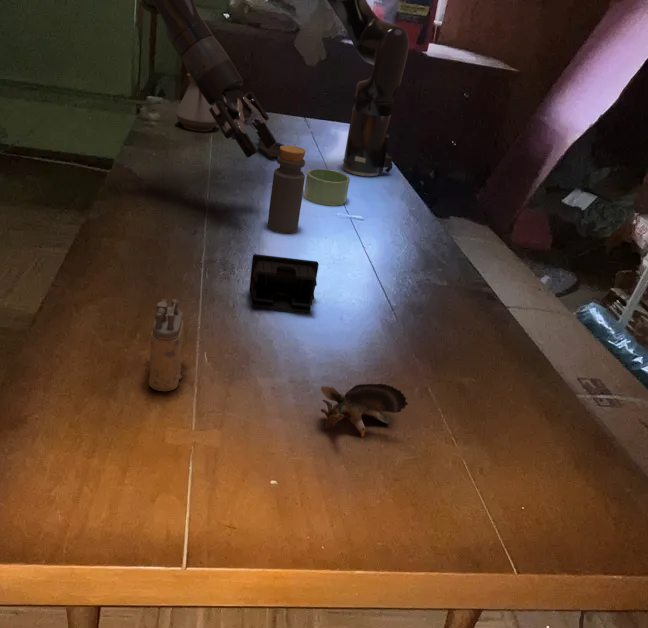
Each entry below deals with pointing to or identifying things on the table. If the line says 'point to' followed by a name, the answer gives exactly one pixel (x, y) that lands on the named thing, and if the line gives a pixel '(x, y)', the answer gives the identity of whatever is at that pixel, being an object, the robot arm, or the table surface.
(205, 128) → the coffee pot
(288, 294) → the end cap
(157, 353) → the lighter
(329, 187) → the holder
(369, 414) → the dark toy animal
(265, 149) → the dark sector wedge
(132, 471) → the table surface
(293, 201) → the bottle
